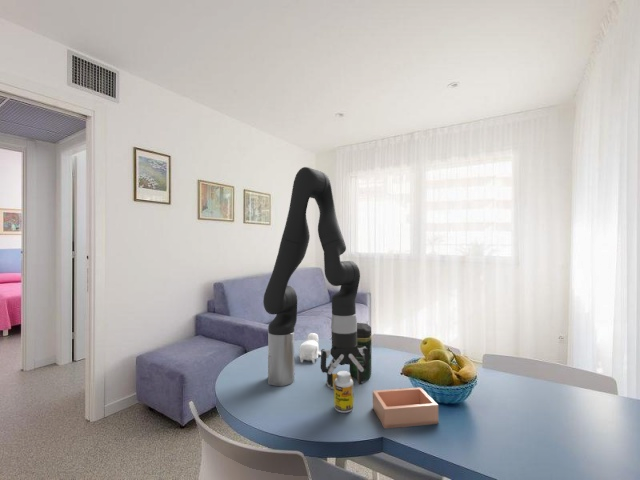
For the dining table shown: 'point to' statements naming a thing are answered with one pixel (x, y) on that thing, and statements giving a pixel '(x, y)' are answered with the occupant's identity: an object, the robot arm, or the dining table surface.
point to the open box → (405, 407)
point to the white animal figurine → (310, 348)
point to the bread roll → (334, 380)
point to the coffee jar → (362, 340)
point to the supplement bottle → (343, 392)
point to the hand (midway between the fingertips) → (345, 384)
